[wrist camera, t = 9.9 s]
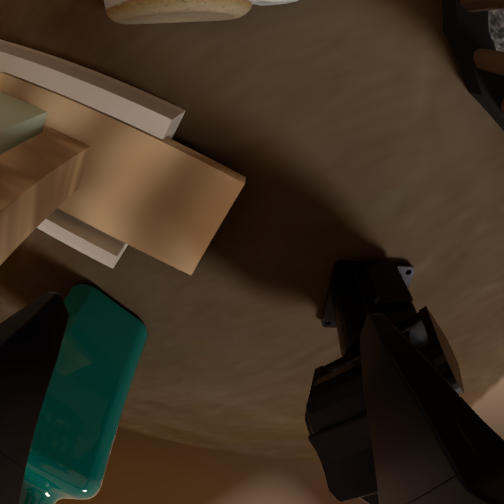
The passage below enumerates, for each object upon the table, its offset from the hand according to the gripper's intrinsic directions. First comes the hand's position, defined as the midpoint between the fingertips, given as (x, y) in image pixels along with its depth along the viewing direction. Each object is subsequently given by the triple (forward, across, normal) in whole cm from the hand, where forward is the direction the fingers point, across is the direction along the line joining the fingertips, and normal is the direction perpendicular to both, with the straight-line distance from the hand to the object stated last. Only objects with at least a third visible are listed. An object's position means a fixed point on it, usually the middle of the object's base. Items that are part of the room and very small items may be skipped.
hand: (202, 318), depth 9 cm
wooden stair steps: (+12, +10, 0) cm, 15 cm away
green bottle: (+13, +14, +15) cm, 24 cm away
